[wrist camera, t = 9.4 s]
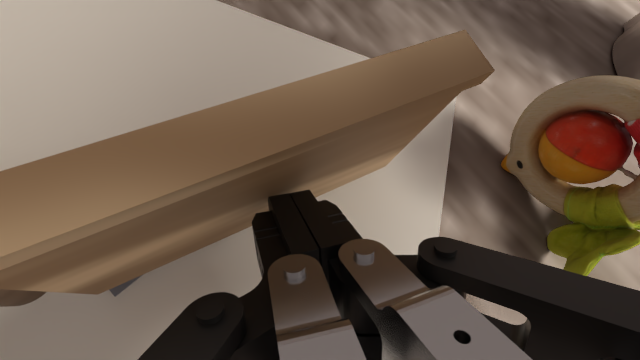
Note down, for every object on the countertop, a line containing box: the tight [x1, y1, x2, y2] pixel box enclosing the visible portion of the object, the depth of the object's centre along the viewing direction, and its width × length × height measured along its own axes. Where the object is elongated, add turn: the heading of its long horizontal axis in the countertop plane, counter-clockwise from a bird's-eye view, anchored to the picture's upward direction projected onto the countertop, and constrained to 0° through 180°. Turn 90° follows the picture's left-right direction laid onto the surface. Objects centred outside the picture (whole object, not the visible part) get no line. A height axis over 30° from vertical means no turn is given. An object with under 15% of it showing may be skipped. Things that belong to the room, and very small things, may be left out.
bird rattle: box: [501, 75, 640, 276], centre depth 15 cm, size 6×11×9 cm
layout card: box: [0, 0, 456, 360], centre depth 14 cm, size 24×28×1 cm
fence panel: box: [0, 30, 495, 295], centre depth 11 cm, size 2×13×8 cm, turn 118°
